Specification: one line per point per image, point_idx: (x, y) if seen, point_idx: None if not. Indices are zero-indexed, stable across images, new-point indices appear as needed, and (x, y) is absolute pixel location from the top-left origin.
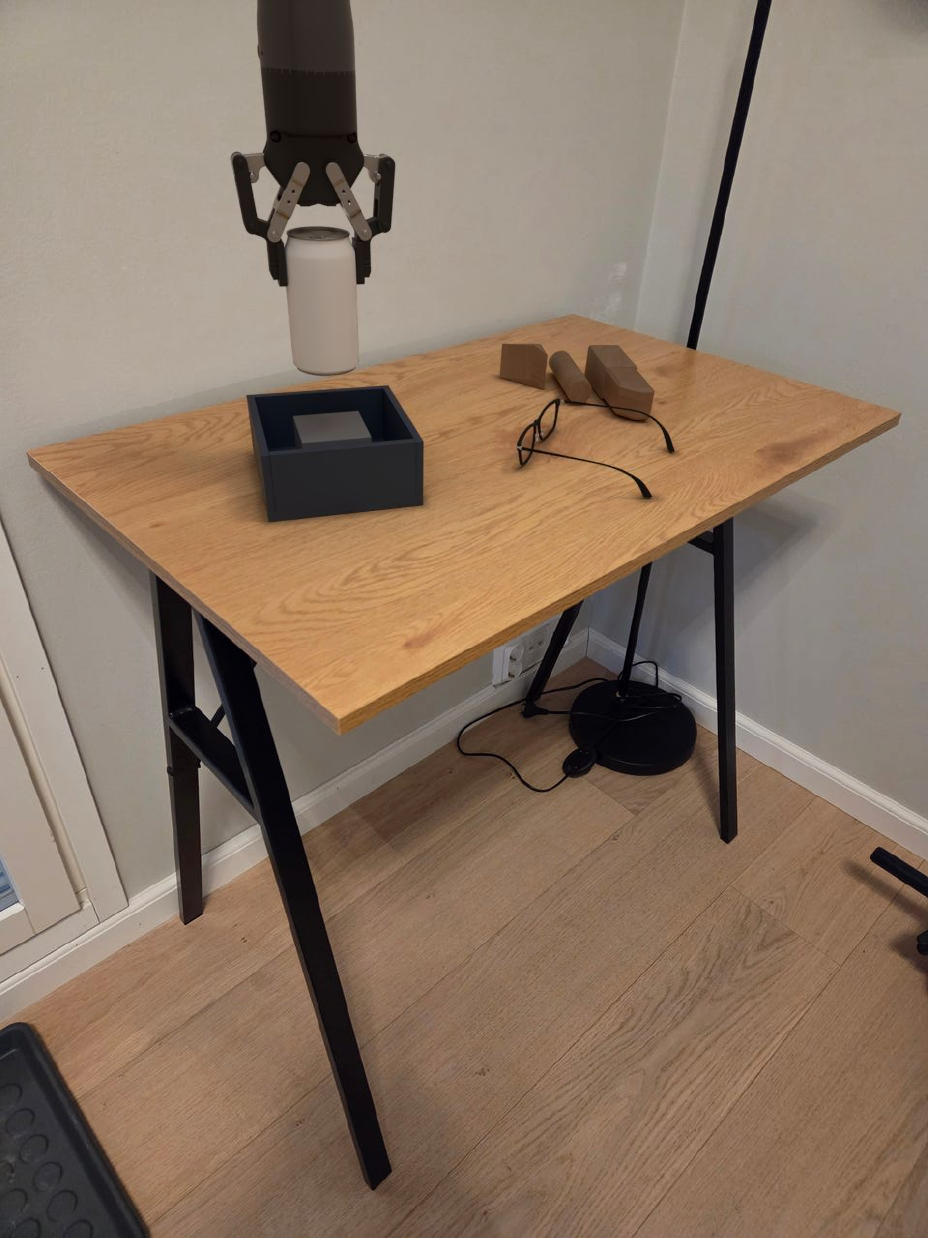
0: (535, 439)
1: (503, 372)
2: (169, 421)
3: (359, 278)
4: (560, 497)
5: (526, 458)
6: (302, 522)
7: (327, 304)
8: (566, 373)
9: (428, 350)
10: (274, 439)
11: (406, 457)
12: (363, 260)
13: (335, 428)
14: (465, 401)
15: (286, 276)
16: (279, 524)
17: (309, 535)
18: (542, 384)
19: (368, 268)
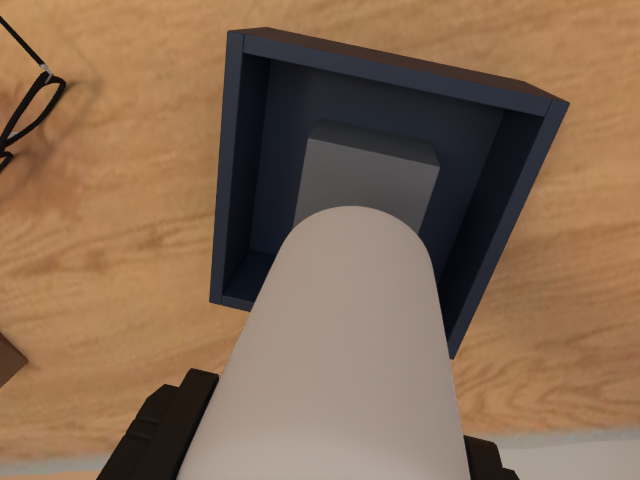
0: (17, 135)
1: (17, 362)
2: (498, 422)
3: (204, 381)
4: None
5: (51, 108)
6: (475, 57)
7: (363, 306)
8: None
9: (103, 459)
10: None
11: (272, 36)
12: (157, 431)
13: (356, 200)
14: (94, 318)
15: (475, 462)
16: (512, 67)
17: (487, 4)
18: None
19: (152, 408)
